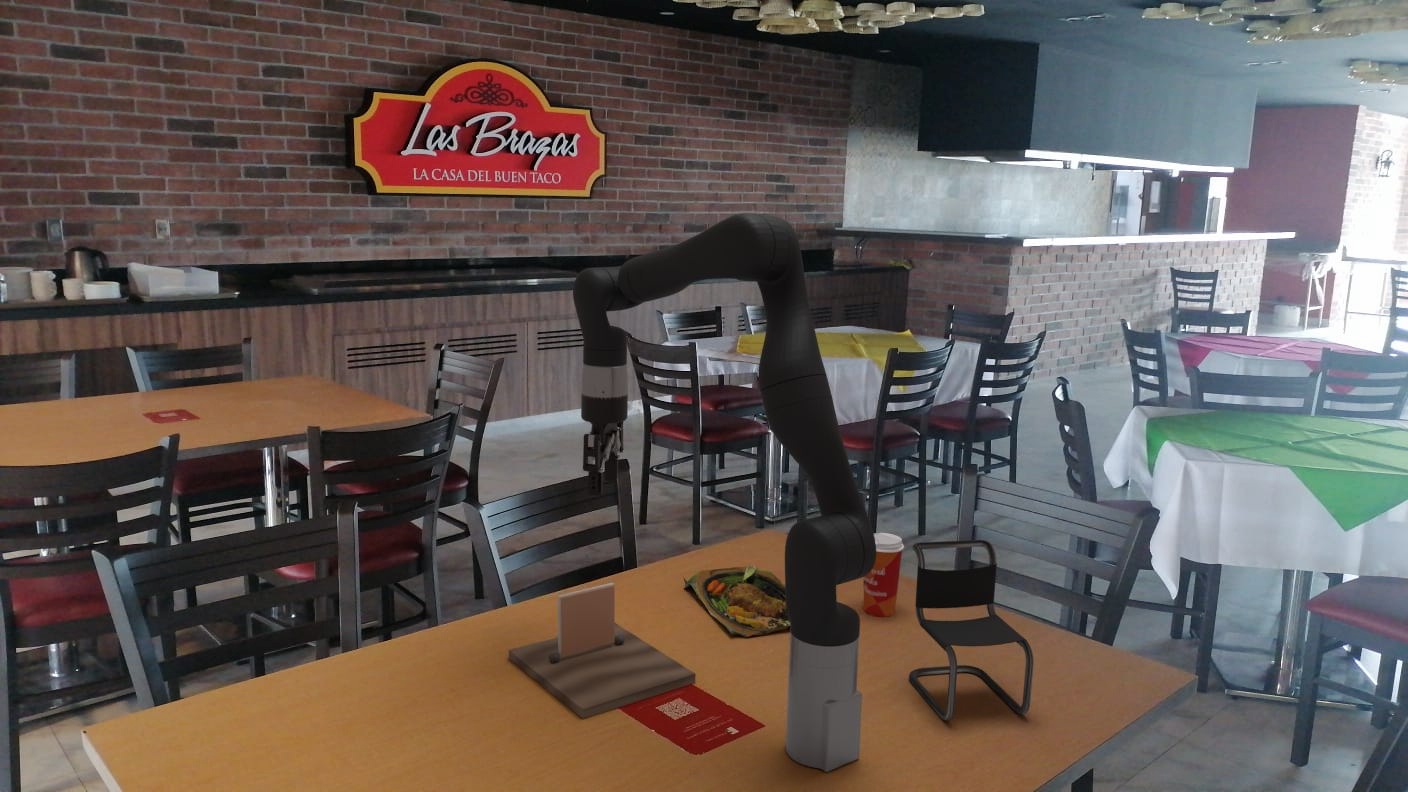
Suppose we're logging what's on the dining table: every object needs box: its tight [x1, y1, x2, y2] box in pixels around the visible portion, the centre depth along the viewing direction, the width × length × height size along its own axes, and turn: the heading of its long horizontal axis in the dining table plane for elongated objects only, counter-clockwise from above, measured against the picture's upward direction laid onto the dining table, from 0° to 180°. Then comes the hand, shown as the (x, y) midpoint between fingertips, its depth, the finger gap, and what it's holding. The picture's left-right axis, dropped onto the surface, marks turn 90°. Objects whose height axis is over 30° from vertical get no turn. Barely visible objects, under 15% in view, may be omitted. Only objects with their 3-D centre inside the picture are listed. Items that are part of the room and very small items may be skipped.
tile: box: [557, 582, 616, 657], centre depth 163 cm, size 10×10×1 cm
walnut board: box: [508, 621, 697, 720], centre depth 160 cm, size 24×20×3 cm
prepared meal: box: [682, 565, 790, 638], centre depth 189 cm, size 28×4×18 cm
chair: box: [908, 539, 1034, 722], centre depth 152 cm, size 13×17×22 cm
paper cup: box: [862, 532, 905, 618], centre depth 186 cm, size 8×8×14 cm
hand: (603, 487), depth 167 cm, fingers open, 8 cm apart
